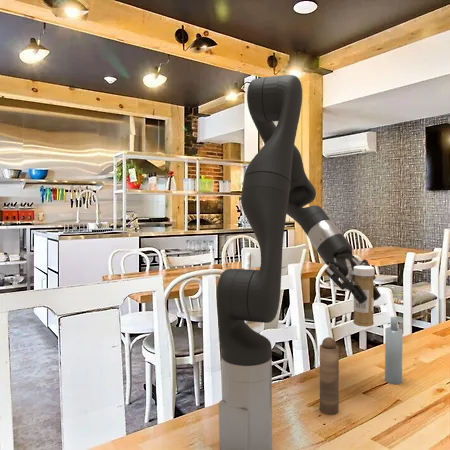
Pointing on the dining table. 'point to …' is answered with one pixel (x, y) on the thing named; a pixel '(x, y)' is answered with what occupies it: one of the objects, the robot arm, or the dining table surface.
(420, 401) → the dining table surface
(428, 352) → the dining table surface
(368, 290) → the sprinkles bottle
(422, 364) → the dining table surface
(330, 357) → the pepper mill
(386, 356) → the ceramic cruet
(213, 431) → the dining table surface
